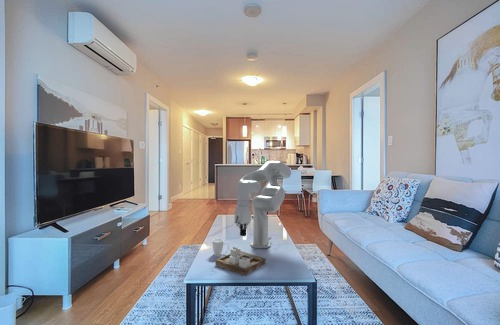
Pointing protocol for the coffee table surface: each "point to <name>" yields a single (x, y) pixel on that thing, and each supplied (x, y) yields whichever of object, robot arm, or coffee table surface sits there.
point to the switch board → (224, 263)
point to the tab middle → (234, 259)
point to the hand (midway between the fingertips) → (243, 235)
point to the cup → (218, 246)
